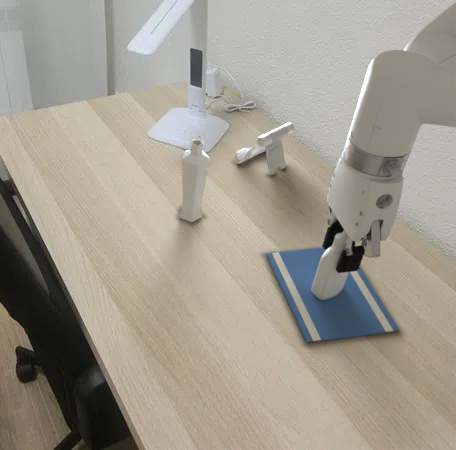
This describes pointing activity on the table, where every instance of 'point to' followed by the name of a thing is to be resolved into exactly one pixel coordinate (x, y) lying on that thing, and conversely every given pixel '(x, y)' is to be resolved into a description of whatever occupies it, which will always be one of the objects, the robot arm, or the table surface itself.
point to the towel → (329, 300)
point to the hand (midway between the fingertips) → (339, 257)
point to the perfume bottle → (193, 180)
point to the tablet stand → (268, 147)
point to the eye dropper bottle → (330, 270)
